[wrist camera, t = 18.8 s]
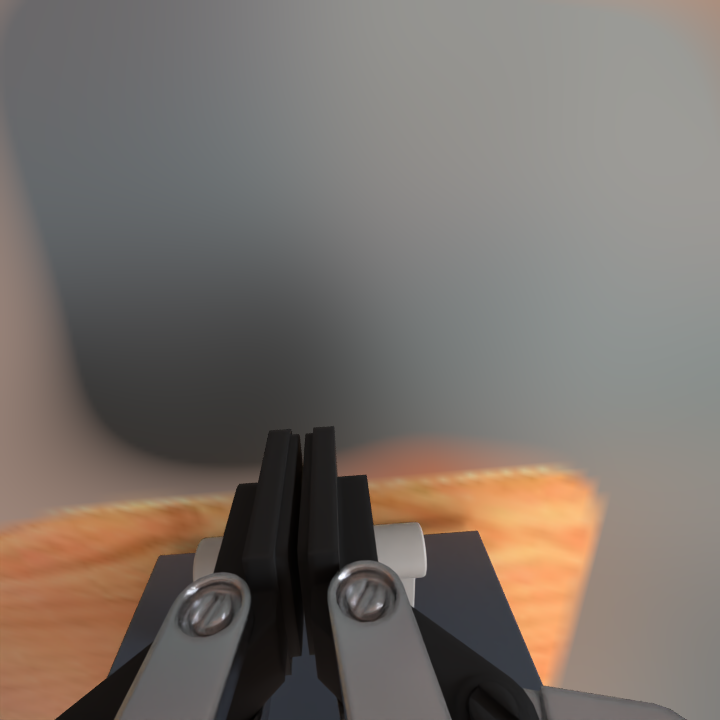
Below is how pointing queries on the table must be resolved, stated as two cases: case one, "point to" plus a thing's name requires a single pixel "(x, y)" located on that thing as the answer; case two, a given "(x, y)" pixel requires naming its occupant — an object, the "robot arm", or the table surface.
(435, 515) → the table surface
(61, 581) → the table surface
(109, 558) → the table surface
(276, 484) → the robot arm
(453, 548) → the drawer
